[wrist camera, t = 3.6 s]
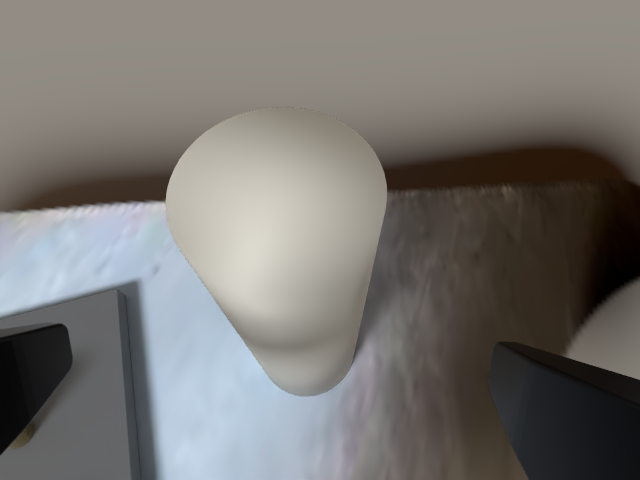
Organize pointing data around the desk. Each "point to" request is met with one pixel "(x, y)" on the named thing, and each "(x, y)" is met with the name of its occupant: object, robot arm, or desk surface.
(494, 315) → the desk surface
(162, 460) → the desk surface
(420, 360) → the desk surface
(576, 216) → the desk surface
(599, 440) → the robot arm
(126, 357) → the charcoal plate
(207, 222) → the cream post
